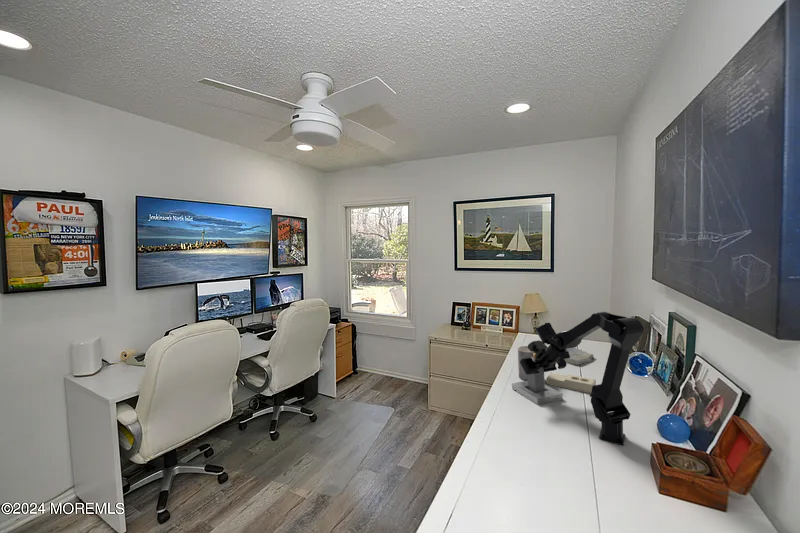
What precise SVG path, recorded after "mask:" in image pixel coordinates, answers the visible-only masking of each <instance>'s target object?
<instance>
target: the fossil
mask: <svg viewBox="0 0 800 533" xmlns="http://www.w3.org/2000/svg"><path fill="white" fill-rule="evenodd" d="M567 351H569V355H570V358H567V359H564V360H565V361H566V364H570V365H574V366H575V365H576V366H577V365H582V364H586V363H590V362H593V361H595V360H597V359H596V358H595V356H594V354H593V353H589V352H587V351H586V350H585V351H583V350H582V349H580V348H577V347H575V348H569V349H567Z"/></svg>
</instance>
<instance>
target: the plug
mask: <svg viewBox="0 0 800 533" xmlns="http://www.w3.org/2000/svg"><path fill="white" fill-rule="evenodd" d="M535 355H536V354H535V353H533V357H530V358H532V360H533V362H535V360H536V359H537V358H536V357H535ZM538 371H539V373H536V374H531V375H529V374H528V389H530V390H532V391H534V392H540V391H545V387H544V384H545V372H544V369H543V367H542V368H540V369H539V370H538Z"/></svg>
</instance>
